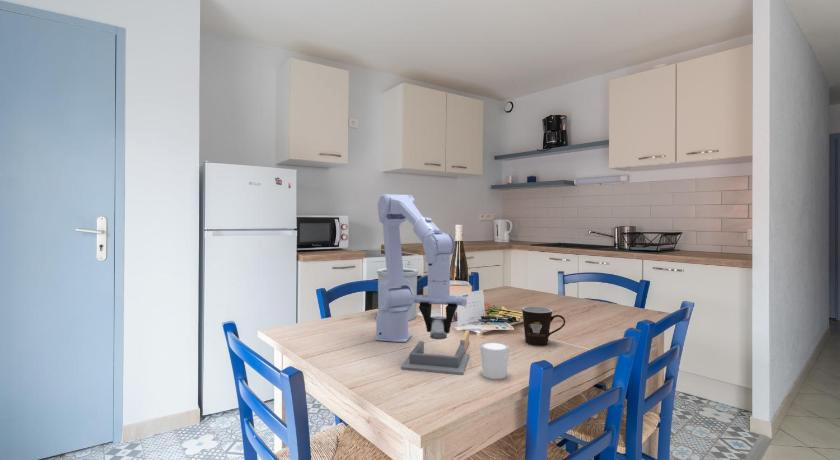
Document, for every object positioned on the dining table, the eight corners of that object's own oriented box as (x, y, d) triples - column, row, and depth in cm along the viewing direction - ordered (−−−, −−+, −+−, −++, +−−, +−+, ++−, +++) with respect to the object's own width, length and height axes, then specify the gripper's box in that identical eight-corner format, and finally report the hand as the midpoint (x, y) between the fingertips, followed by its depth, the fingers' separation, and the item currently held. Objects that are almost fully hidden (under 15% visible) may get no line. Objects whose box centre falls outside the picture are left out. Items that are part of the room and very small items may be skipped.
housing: (400, 369, 108) (400, 357, 108) (414, 351, 121) (414, 340, 121) (462, 374, 104) (463, 362, 104) (469, 356, 118) (469, 345, 118)
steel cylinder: (428, 338, 113) (428, 319, 113) (431, 334, 117) (432, 315, 117) (445, 339, 112) (445, 320, 112) (448, 335, 116) (448, 316, 116)
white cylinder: (491, 382, 100) (491, 352, 99) (474, 372, 106) (474, 343, 106) (515, 377, 103) (515, 347, 103) (497, 367, 109) (497, 340, 109)
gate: (464, 354, 118) (464, 341, 118) (459, 354, 119) (460, 340, 119) (469, 341, 130) (469, 329, 130) (465, 341, 131) (465, 329, 130)
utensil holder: (394, 310, 171) (394, 266, 170) (425, 316, 162) (425, 269, 162) (368, 318, 159) (368, 270, 158) (401, 324, 150) (401, 273, 150)
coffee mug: (516, 342, 130) (516, 309, 129) (530, 336, 136) (531, 305, 136) (552, 351, 122) (553, 316, 121) (566, 344, 128) (567, 311, 128)
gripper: (407, 281, 111) (407, 333, 112) (464, 283, 108) (464, 337, 109) (414, 277, 118) (414, 326, 119) (467, 279, 115) (467, 330, 116)
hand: (438, 331), depth 114 cm, fingers closed on steel cylinder, 4 cm apart
